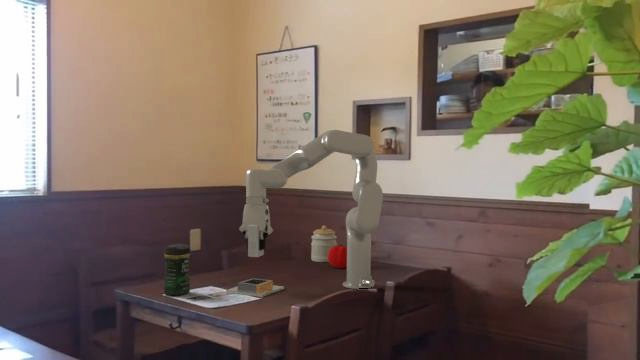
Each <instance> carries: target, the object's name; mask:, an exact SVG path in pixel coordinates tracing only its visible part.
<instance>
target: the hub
mask: <svg viewBox="0 0 640 360" xmlns="http://www.w3.org/2000/svg"><path fill="white" fill-rule="evenodd" d="M282 290H285V286H282V285H274V280H270V279H264V278H263V279H262V278H253V277H252V278H250V279H246V280H242V281H240V282H237V286H235V287H231V288H229V289H226V290H225V292H227V293H226V294H233V293H234V295H242V296H251V297H257V298H258V297H259V298H265V297H267V296H271V295H272V294H275V293H278V292H280V291H282Z"/></svg>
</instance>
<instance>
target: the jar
mask: <svg viewBox="0 0 640 360" xmlns="http://www.w3.org/2000/svg"><path fill="white" fill-rule="evenodd" d="M312 233H313V235H311V237H310V238H311V243H310V244H311V247H310V248H311V254H310V255H311V256H310V258H311V261H312V262H315V263H316V262H317V263H329V261H328V254H329V251H330V249H331V248H332V247H334V246H338V242H337V238H338V236H336V231H335V230H333V229H331V228H327V226H326V225H322V226H321V228H319V229H315V230H314V231H313V232H312Z"/></svg>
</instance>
